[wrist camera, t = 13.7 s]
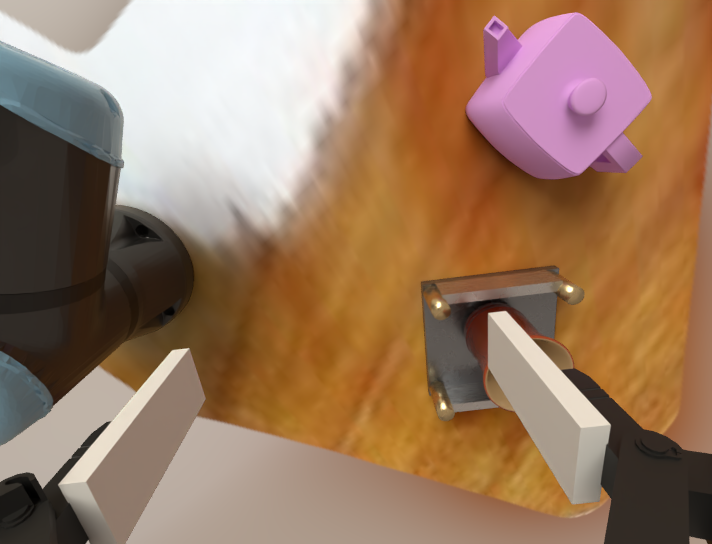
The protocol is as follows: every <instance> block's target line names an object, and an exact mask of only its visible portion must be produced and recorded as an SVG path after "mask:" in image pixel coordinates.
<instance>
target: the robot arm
mask: <svg viewBox="0 0 712 544" xmlns="http://www.w3.org/2000/svg"><path fill="white" fill-rule="evenodd" d="M123 123H124V118H123V113H122V110H121V107H120V105H119V103H118V102H117V100H116V99H115V98H114V97H113V96H112V94H110V93H109V92H108V91H107V90H105V89H104V88H103V87H101V86H99V85H97V84H95V83H93V82H91V81H89V80H87V79H85V78H83V77H81V76H79V75H77V74H74V73H72V72H70V71H68V70H65V69H63V68H61V67H59V66H57V65H54V64H52V63H50V62H48V61H45V60H43V59H41V58H38V57H36V56H34V55H31V54H29V53H27V52H25V51H22V50H20V49H18V48H15V47H13V46H11V45H9V44H6V43H4V42H2V41H0V445H3V444H5V443H7V442H8V441H10V440H12V439H13V438H14V437H16V436H17V435H18V434H20V433H21V432H23V431H24V430H25V429H27V428H28V427H29V426H31V425H32V424H33V423H35V422H36V421H37V420H39V419H41V418H43V417H45V416H46V415H47V414H48V413H49V412H50V411H51V409H52V408H53V405H55V404H56V403H57V402H58V401H59V400H60V399H61V398H62V397H63V396H65V395H66V394H67V393H68V392H69V391H70V390H71V389H72V388H74V387H75V386H76V385H77V384H78V383H79V382H80V381H81V380H82V379H84V378H85V377H86V376H87V375H88V374H89V373H90V372H91V371H92V370H94V368H96V367H97V366H98V365H99V364H100V363H101V362H102V361H104V360H105V359H106V358H107V357H108V356H109V355H110V354H111V353H112V352H114V351H115V350H116V349H117V348H118V347H119V346H120V345H121V344H122V343H123V342H125V341H127V340H130V339H133V338H136V337H139V336H142V335H145V334H148V333H151V332H153V331H156V330H158V329H160V328H162V327H163V326H165V325H166V324H168V323H169V322H170V321H172V320H173V319H174V318H175V317H176V316H177V315H178V314H179V313H180V312H181V311H182V309H183V308H184V307H185V305H186V304H187V302H188V300H189V298H190V296H191V293H192V289H193V282H194V275H193V267H192V263H191V260H190V257H189V255H188V252H187V250H186V248H185V247H184V245H183V243H182V242H181V240H180V239H179V238H178V236H177V235H176V234H175V233H174V232H173V231H172V230H171V229H170V228H169V227H168V226H167V225H166V224H164V223H163V222H162V221H160V220H159V219H157V218H156V217H154V216H152V215H151V214H149V213H147V212H144V211H142V210H139V209H136V208H133V207H128V206H122V205H116V198H117V191H118V184H119V177H120V170H121V168H123V167H124V161H123V160H122V158H121V154H122V137H123ZM488 368H489V370H490V371H491V373H492V374H493V376H494V378H495V379H496V381H497V383H498V384H499V386H500V388H501V389H502V391H503V392H504V394H505V396H506V397H507V399H508V401H509V402H510V404H511V405H512V407H513V409H514V410H515V412H516V414H517V415H518V417H519V419H520V420H521V422H522V423H523V425H524V427H525V428H526V430H527V432H528V433H529V435H530V436H531V438H532V440H533V441H534V443H535V445H536V446H537V448H538V449H539V451H540V453H541V454H542V456H543V458H544V459H545V461H546V463H547V464H548V466H549V467H550V469H551V471H552V472H553V474H554V476H555V477H556V479H557V480H558V482H559V484H560V485H561V487H562V489H563V490H564V492H565V494H566V495H567V497H568V498H569V500H570V502H571V503H572V504H581V503H590V502H599V501H600V494H601V487H603V488H604V490H605V491H606V492H607V494H608V495H609V496H610V498H611V499H612V500H611V506H610V512H609V518H608V523H607V530H606V535H605V542H604V544H689V536H691V537H695V538H700V539H705V540H706V541H707V543H708V544H712V454H707V453H700V452H693V451H687V450H683V449H682V448H681V447H680V446H679V445H678V444H677V443H676V442H674V441H672V440H671V439H669V438H668V437H666V436H664V435H661V434H659V433H657V432H654V431H649V430H644V429H642V428H641V427H640V426H639V425H638V424H637V423H636V422H635V421H634V420H633V419H632V418H631V417H630V416H629V415H628V414H627V413H626V412H625V411H624V410H623V409H622V408H621V407H620V406H619V405H618V404H617V403H616V402H615V401H614V400H613V399H612V398H609V395H608V394H607V393H606V392H605V391H604V390H603V389H601V388H600V386H599V385H598V384H597V383H596V382H595V381H594V380H592V379H591V378H590V377H589V376H587V375H586V374H584V373H582V372H580V371H578V370H577V369H575V368H573V369H564V370H560V369H559V368H558V367H557V366H556V365H555V364H554V363H553V362H552V360H551V359H550V358H549V357H548V356H547V355H546V354H545V353H544V352H543V351H542V350H541V349H540V347H539V346H538V345H537V344H536V343H535V342H534V341H533V340H532V339H531V338H530V337H529V336H528V334H527V333H526V332H525V331H524V330H523V329H522V328H521V327H520V326H519V325H518V324H517V322H516V321H515V320H514V319H513V318H512V317H511V316H510V315H509V314H508V313H507V312H506V311H502V312H493V313H488ZM205 400H206V398H205V395H204V392H203V389H202V386H201V383H200V380H199V377H198V373H197V370H196V367H195V364H194V361H193V358H192V355H191V352H190V349H189V348H186V349H178V350H172V351H171V352H170V353H169V355H168V356H167V357H166V358H165V359H164V361H163V362H162V363H161V364H160V365H159V366H158V368H157V369H156V370H155V371H154V372H153V373H152V375H151V376H150V377H149V378H148V379H147V381H146V382H145V383H144V384H143V385H142V386H141V388H140V389H139V390H138V391H137V392H136V393H135V395H134V396H133V397H132V398H131V399H130V401H129V402H128V403H127V404H126V406H124V408H123V409H122V410H121V411H120V413H119V414H118V415H117V416H116V417H115V418H114V419H113V421H111V422H106V423H105V424H104V425H102V426H101V427H100V428H98V429H97V430H96V431H94V432H93V433H92V434H91V435H90V436H89V437H88V438H87V439H86V440H85V442H84V443H83V444H82V445H81V448H78V450H77V451H76V452H75V453H74V454H73V455H72V458H71V459H69V460H68V461H67V462H66V463H65V464H64V465H63V467H62V468H61V469H60V470H59V471H58V473H56V474H55V476H54V477H53V478H52V479H51V480H50V481H49V482H48V484H47V485H46V486H45V487H44V488H43V489H42V488H41V486H40V484H39V482H38V481H37V479H36V477H35V475H34V474H32V473H22V474H17V475H14V476H12V477H10V478H7V479H5V480H3V481H1V482H0V544H86V542H87V541H88V540H89V542H90V544H125V543H126V541H127V540H128V538H129V536H130V534H131V532H132V531H133V529H134V527H135V525H136V523H137V522H138V520H139V518H140V516H141V514H142V512H143V511H144V509H145V507H146V505H147V503H148V502H149V500H150V498H151V497H152V494H153V493H154V491H155V489H156V488H157V486H158V484H159V482H160V480H161V479H162V477H163V475H164V473H165V471H166V470H167V468H168V466H169V464H170V462H171V461H172V459H173V457H174V455H175V453H176V452H177V450H178V448H179V446H180V444H181V443H182V441H183V439H184V437H185V435H186V434H187V432H188V430H189V428H190V427H191V425H192V423H193V421H194V419H195V418H196V416H197V414H198V412H199V410H200V409H201V407H202V405H203V403H204V401H205Z"/></svg>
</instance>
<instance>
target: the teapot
mask: <svg viewBox="0 0 712 544" xmlns="http://www.w3.org/2000/svg"><path fill="white" fill-rule="evenodd" d="M483 31H484V55H485V76H486V79H485V80H484V81H483V83H482V84H481V85H480V87H479V88H478V89H477V91H476V92H475V94H474V95H473V96H472V98H471V99H470V101H469V102H468V104H467V106H466V114H467V116H468V118H469V119H470V120H471V122H472V123H473V124H474V126H475V127H476V128H477V129H478V130H479V131H480V133H481V134H482V135H483V136H484V137H485V138H486V139H487V140H488V141H489V142H490V144H491V145H492V146H493V147H494V148H495V149H497V150H498V151H499V152H500V153H501V154H502V155H503V156H504V157H506V158H507V159H508V160H509V161H511V162H512V163H513V164H515V165H516V166H517V167H519V168H520V169H522V170H523V171H525V172H526V173H528V174H530V175H532V176H534V177H536V178H541V179H562V178H568V177H573V176H578V175H580V174H581V173H582V172H584V171H585V170H586V169H587V168H588V167H589V166H590V167H591V168H593V169H594V170H596V171H597V172H619V173H626V172H627V171H628V170H630V169H631V168H632V167H633V166H634V165H635V164H636V163H637V162H638V161H639V160H640V159H641V158H642V157H643V156H642V155H641V154H640V152H639V151H638V150H637V149H636V148H635V147H634V145H633V144H632V143H631V142H630V141H629V139H628V138H627V137H626V136H625V135H624V134H623V131H624V130H625V129H626V128H627V127H628V126H629V125H630V124H631V122H632V121H633V120H634V119H635V118H636V117H637V116H638V115H639V114H640V113H641V111H642V110H643V109H644V108H645V107H646V106H647V104H648V103H649V102H650V100H651V93H650V90H649V88H648V87H647V85H646V83H645V82H644V80H643V79H642V78H641V76H640V75H639V73H638V72H637V71H636V69H635V68H634V67H633V65H632V64H631V63H630V62H629V60H628V59H627V58H626V56H625V55H624V54H623V53H622V52H621V51H620V49H619V48H618V47H617V46H616V45H615V44H614V43H613V42H612V41H611V40H610V39H609V38H608V37H607V36H606V35H605V34H604V33H603V32H602V31H601V30H600V29H599V28H598V27H597V26H596V25H595V24H593V23H592V22H591V21H590V20H589V19H587V18H586V17H585V16H583V15H582V14H580V13H569V14H564V15H559V16H555V17H551V18H548V19H545V20H543V21H540V22H538V23H536V24H534V25H533V26H531V27H530V28H529V29H528V30H526V31H525V32H524V33H523V35H522V36H521V37H520V38H519V39H518V40H517V39H516V38H515V37H514V35H513V34H512V33H511V32H510V31H509V30H508V26H506V25H505V24H504V23H503V22H502V21H500V20H499V19H498V18H497V17H495V16H493V18H492V19H491V20H490V22H489V23H488V24H487V26H486V27H485V28H484V30H483Z"/></svg>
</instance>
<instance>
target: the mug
mask: <svg viewBox="0 0 712 544" xmlns="http://www.w3.org/2000/svg"><path fill="white" fill-rule="evenodd" d="M502 311H506V312H507V313H508V314H509V315H510V316H511V317H512V318H513V319H514V320H515V321H516V322H517V324H518V325H519V326H520V327H521V328H522V329H523V330H524V331H525V332H526V333H527V334H528V336H529V337H530V338H531V339H532V340H533V341H534V342H535V343H536V344H537V345H538V346H539V347H540V349H541V350H542V351H543V352H544V353H545V354H546V355H547V356H548V357H549V358H550V359H551V360H552V362H553V363H554V364H555V365H556V366H557V367H558V368H559V369H560V370H564V369H573V368H574V361H573V358H572V355H571V354H570V352H569V351H568V349H567V348H566V347H565V346H564V345H563V344H561V343H560V342H558V341H556V340H554V339H552V338H550V337H547V336H545V335H542V334H541V333H539V332H538V330H537V329H536V328H535V327H534V326H533V325H532V324H531V323H530V322H529V320H528V319H527V318H526V317H525V316H524V315H523V314H522V313H521V312H520V311H518V310H516V309H515V308H513V307H511V306H509V305H507V304H504V303H498V302H494V303H488V304H485V305H482V306H480V307H478V308H477V309H475V310H474V311H473V312H472V313H471V314H470V315H469V317H468V318H467V320H466V322H465V326H464V336H465V340H466V345H467V348H468V350H469V351H470V353H471V354H472V356H473V357H474V359H475V361H476V362H477V364H478V365H479V367H480V368H481V370H482V374H483V385H484V389H485V392H486V394H487V396H488V397H489V399H490V400H491V401H492V402H493V403H494V404H495V405H497V406H498V407H500V408H502V409H504V410H507V411H511V412H515V410H514V409H513V407H512V405H511V404H510V402H509V401H508V399H507V397H506V396H505V394H504V392H503V391H502V389H501V388H500V386H499V384H498V383H497V381H496V379H495V378H494V376H493V374H492V373H491V371H490V370H489V368H488V313H493V312H502Z"/></svg>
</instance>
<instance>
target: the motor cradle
mask: <svg viewBox="0 0 712 544" xmlns="http://www.w3.org/2000/svg"><path fill="white" fill-rule="evenodd" d="M421 290H422V306H423V321H424V336H425V351H426V366H427V381H428V392H429V395H430V396H432V399H433V402H434V405H435V408H436V411H437V414H438V417H439V419H440V420H442V421H449V420H451V419H452V418H453V417H454V415H455V412H461V411H470V410H479V409H488V408H497V407H498V406H497V405H495V404H494V403H493V402H492V401H491V400H490V399H489V397H488V396H487V394H486V392H485V389H484V385H483V374H482V370H481V368H480V367H479V365H478V364H477V362H476V361H475V359H474V357H473V356H472V354H471V353H470V351H469V350H468V348H467V345H466V340H465V336H464V326H465V322H466V320H467V318H468V317H469V315H470V314H471V313H472V312H473V311H474V310H475V309H477V308H478V307H480V306H482V305H485V304H488V303H494V302H498V303H504V304H507V305H509V306H511V307H513V308H515V309H516V310H518V311H520V312H521V313H522V314H523V315H524V316H525V317H526V318H527V319H528V320H529V322H530V323H531V324H532V325H533V326H534V327H535V328H536V329H537V330H538V332H539V333H541V334H542V335H545V336H547V337H550V338H552V339H554V332H555V318H556V304H557V295H558V296H559V297H560V298H562V299H563V300H564V301H566V302H567V303H568V304H571V305H574V304H578V303H579V302H581V301H582V300H583V298H584V291H583V289H581V288H580V287H578V286H577V285H575V284H574V283H572V282H570V281H569V280H567V279H566V278H564V277H563V276H561V275H559V268H558V267H556V266H547V267H539V268H531V269H522V270H514V271H506V272H497V273H489V274H481V275H472V276H464V277H456V278H447V279H439V280H431V281H422V282H421Z"/></svg>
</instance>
